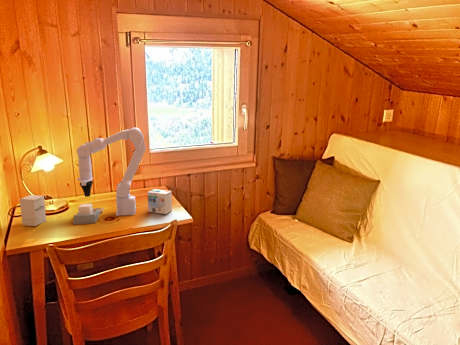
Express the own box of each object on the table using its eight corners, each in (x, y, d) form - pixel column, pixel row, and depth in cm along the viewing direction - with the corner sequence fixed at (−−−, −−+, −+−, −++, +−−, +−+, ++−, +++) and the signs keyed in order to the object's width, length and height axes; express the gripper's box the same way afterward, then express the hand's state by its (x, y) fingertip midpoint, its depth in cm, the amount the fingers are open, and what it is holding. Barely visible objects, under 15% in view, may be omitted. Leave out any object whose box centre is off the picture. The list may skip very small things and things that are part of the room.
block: (82, 215, 179) (81, 203, 178) (92, 215, 180) (91, 203, 178) (79, 219, 174) (78, 207, 173) (90, 218, 175) (89, 206, 174)
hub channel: (100, 213, 185) (99, 206, 185) (95, 223, 172) (95, 214, 171) (79, 214, 184) (78, 207, 183) (73, 224, 170) (72, 216, 169)
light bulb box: (147, 211, 189) (147, 191, 187) (154, 208, 195) (154, 188, 193) (166, 214, 185) (165, 193, 183) (172, 210, 191) (172, 190, 189)
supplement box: (36, 226, 167) (33, 199, 165) (21, 225, 169) (18, 198, 166) (47, 221, 174) (44, 195, 172) (33, 219, 176) (30, 194, 173)
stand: (104, 209, 192) (104, 207, 192) (102, 212, 187) (102, 211, 186) (92, 209, 191) (92, 208, 191) (90, 213, 186) (90, 212, 185)
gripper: (79, 166, 184) (81, 192, 187) (73, 172, 170) (75, 200, 173) (94, 166, 185) (96, 192, 188) (89, 172, 171) (91, 200, 174)
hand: (87, 196), depth 181 cm, fingers closed
